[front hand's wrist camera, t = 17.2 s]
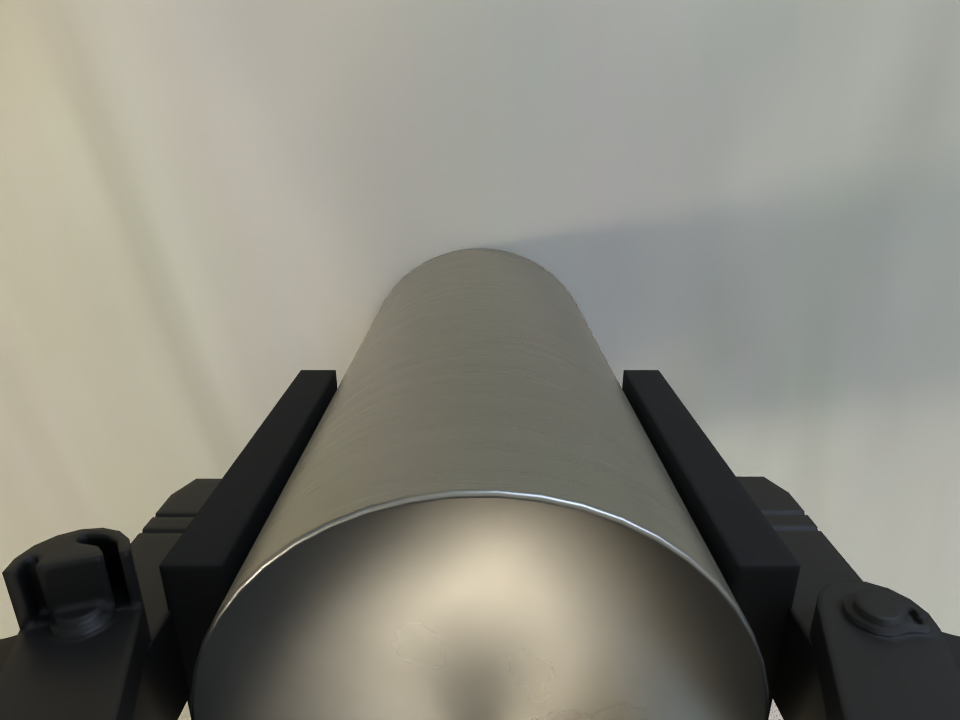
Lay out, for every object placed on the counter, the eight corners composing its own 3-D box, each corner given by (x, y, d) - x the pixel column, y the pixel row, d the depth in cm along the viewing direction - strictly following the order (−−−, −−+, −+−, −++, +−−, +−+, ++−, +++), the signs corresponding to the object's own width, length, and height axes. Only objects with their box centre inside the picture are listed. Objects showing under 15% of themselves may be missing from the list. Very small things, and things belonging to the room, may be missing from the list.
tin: (386, 459, 19) (253, 934, 8) (356, 257, 17) (115, 516, 6) (590, 444, 19) (751, 909, 8) (585, 239, 17) (797, 467, 6)
